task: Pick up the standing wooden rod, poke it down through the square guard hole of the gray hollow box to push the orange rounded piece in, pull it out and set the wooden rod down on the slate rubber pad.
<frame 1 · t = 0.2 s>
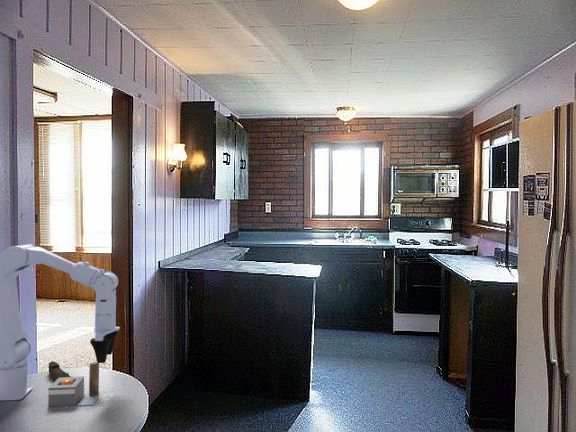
hand: (104, 358, 132), 10 cm above the table, fingers open, 7 cm apart
pad: (88, 402, 125), on the table
orange rounded piece: (66, 384, 126), point 4 cm above the table, slide at 0.0 cm
gray hollow box: (66, 399, 126), on the table
wooden rod: (93, 393, 131), on the table
dark brown lumpy piece: (57, 382, 140), on the table
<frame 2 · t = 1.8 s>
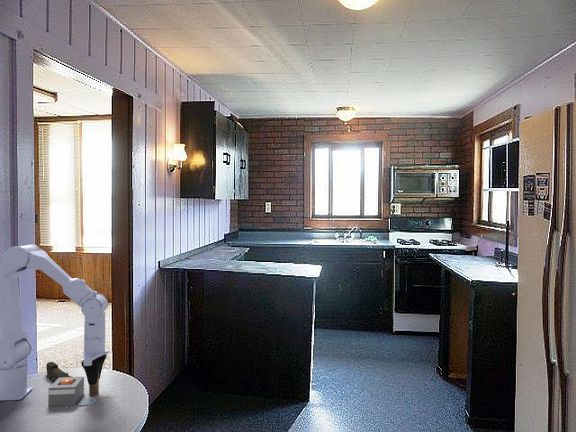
hand: (94, 382, 131), 3 cm above the table, fingers closed on wooden rod, 3 cm apart
wooden rod: (93, 393, 131), on the table, touching gripper
everything else where it was.
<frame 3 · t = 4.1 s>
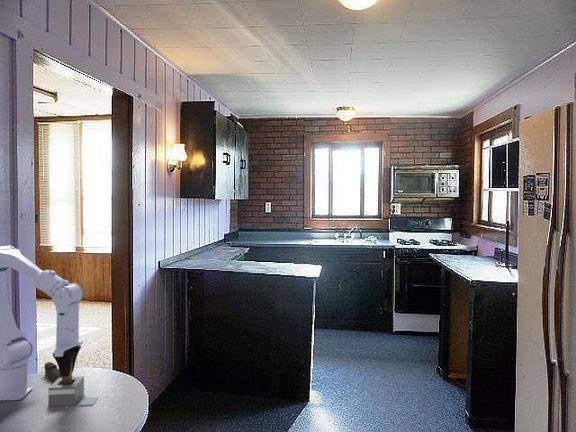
hand: (67, 374, 126), 7 cm above the table, fingers closed on wooden rod, 3 cm apart
orange rounded piece: (66, 390, 126), point 3 cm above the table, slide at 1.6 cm, touching wooden rod
wooden rod: (66, 386, 126), point 4 cm above the table, touching gripper, orange rounded piece
everything else where it was.
when the fingers open (4 cm above the table, at t = 6.8 s): wooden rod stays where it is, resting on pad.
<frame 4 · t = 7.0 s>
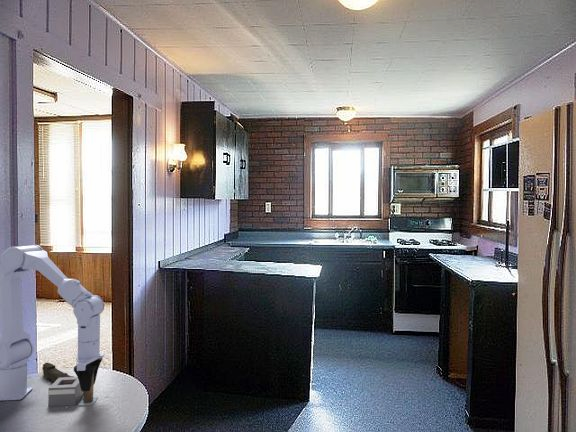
hand: (88, 387, 125), 4 cm above the table, fingers open, 4 cm apart
orange rounded piece: (66, 390, 126), point 3 cm above the table, slide at 1.6 cm
wooden rod: (88, 400, 125), resting on pad
everything else where it was.
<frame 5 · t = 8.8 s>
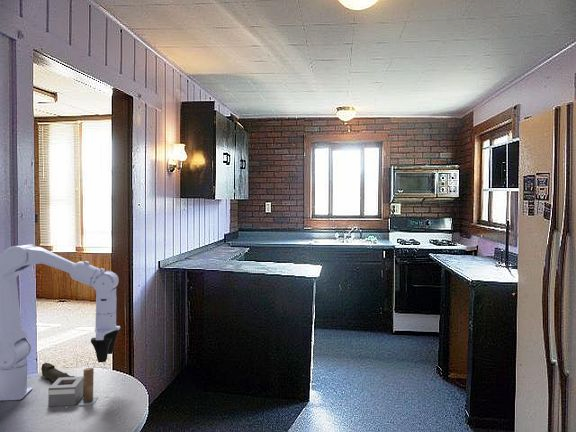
hand: (105, 357, 132), 10 cm above the table, fingers open, 7 cm apart
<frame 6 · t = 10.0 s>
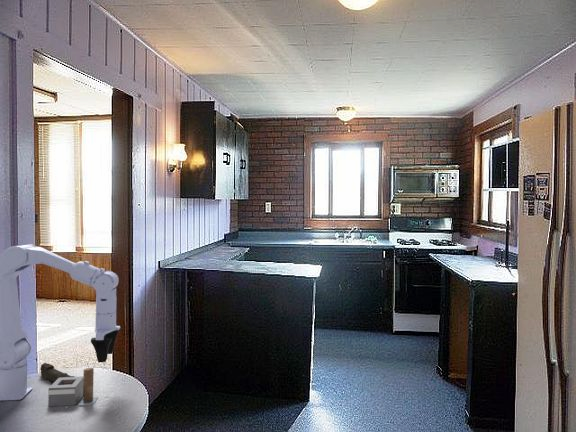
hand: (105, 357, 132), 10 cm above the table, fingers open, 7 cm apart
at the end: orange rounded piece slide at 1.6 cm; the gripper is holding nothing; wooden rod inside the target area (0.0 cm from its centre), resting on pad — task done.
